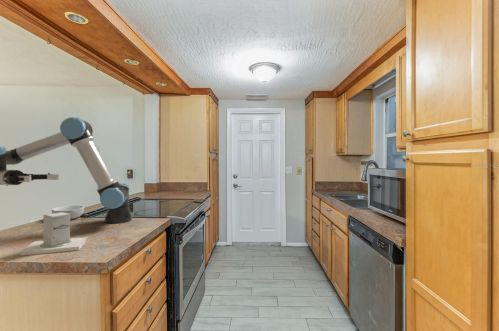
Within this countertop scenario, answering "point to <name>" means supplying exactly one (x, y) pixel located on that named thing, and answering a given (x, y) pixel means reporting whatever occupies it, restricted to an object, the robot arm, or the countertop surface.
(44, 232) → the supplement box
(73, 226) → the countertop surface
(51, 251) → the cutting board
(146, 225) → the countertop surface
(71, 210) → the cereal bowl
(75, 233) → the countertop surface
